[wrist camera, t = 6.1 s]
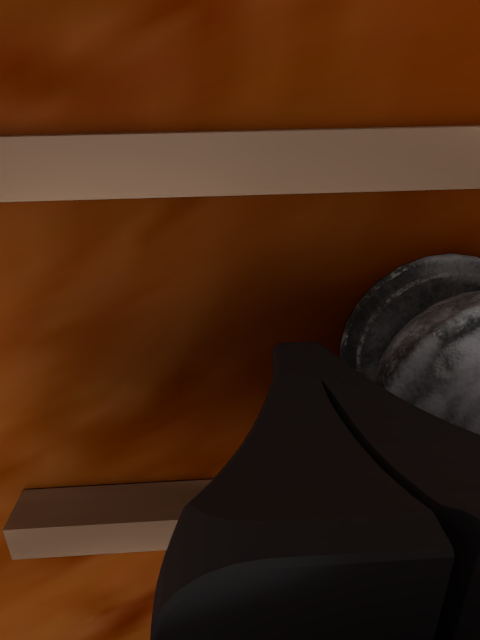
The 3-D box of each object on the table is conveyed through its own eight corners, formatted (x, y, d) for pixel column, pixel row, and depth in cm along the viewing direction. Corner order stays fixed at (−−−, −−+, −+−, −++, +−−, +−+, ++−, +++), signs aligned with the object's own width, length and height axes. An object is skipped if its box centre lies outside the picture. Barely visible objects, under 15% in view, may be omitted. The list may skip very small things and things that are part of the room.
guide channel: (539, 487, 15) (644, 604, 11) (31, 517, 14) (-31, 653, 11) (664, 121, 10) (908, 120, 7) (-80, 137, 10) (-257, 146, 6)
